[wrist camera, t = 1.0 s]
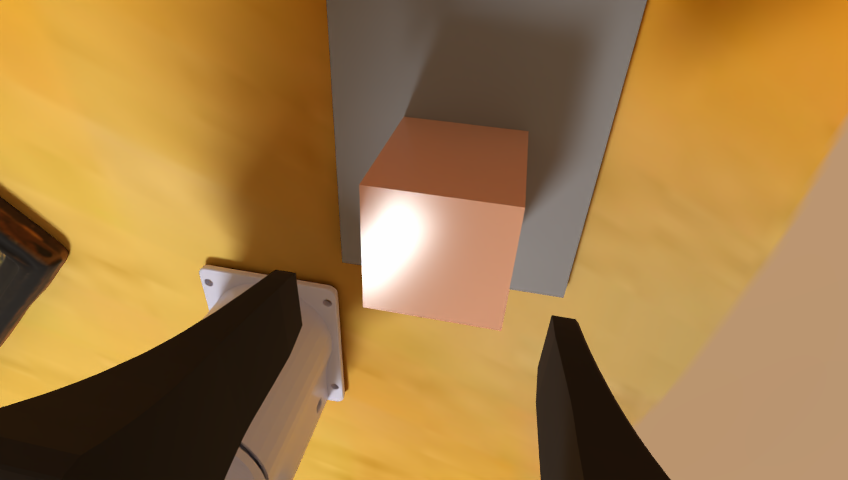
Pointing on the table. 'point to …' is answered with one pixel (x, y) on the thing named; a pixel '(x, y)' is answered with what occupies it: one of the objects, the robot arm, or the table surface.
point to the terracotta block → (443, 221)
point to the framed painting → (24, 265)
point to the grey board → (486, 100)
